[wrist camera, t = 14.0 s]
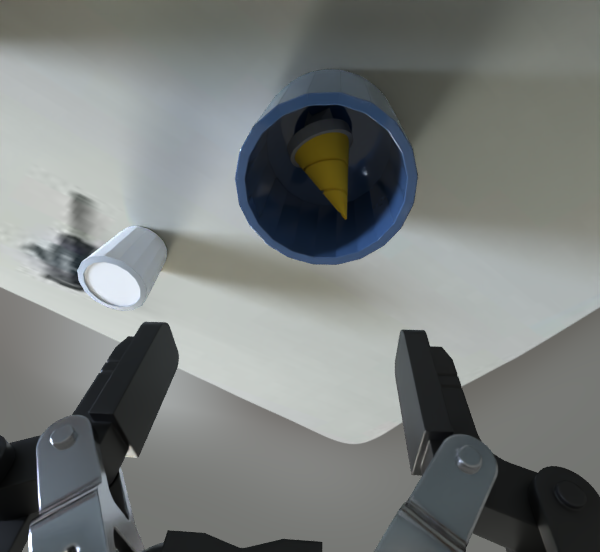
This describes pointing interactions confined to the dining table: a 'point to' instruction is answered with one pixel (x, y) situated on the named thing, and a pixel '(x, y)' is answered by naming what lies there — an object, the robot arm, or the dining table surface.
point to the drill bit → (324, 155)
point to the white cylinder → (124, 268)
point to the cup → (301, 189)
